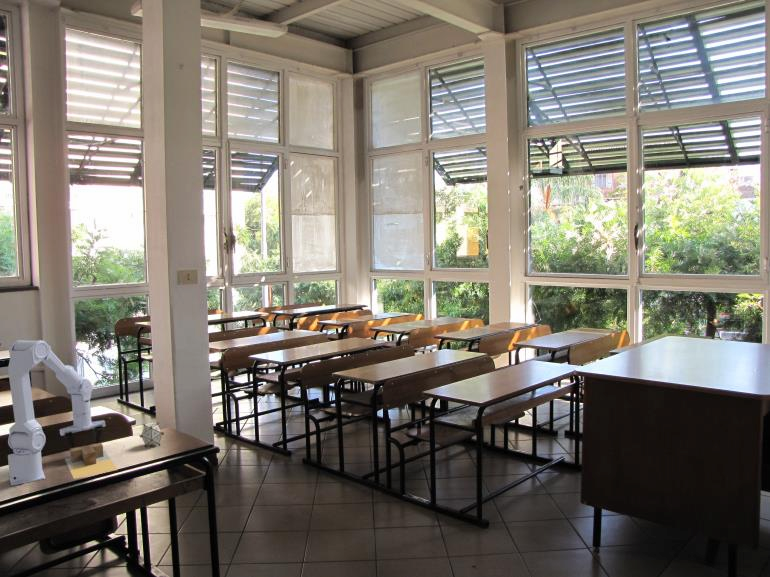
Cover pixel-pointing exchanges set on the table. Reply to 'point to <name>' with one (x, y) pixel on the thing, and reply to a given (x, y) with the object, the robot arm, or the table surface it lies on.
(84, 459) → the T block
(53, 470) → the table surface
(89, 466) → the mat
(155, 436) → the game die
